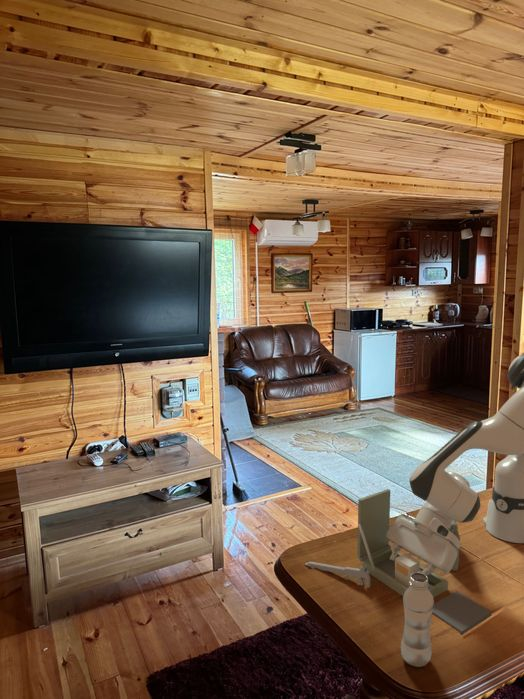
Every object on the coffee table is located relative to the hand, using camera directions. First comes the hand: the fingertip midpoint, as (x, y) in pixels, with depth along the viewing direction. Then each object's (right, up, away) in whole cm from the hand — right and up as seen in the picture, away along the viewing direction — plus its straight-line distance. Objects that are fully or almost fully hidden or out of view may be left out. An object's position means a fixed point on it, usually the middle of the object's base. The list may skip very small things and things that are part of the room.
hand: (405, 569), depth 135 cm
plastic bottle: (-5, -9, -25) cm, 27 cm away
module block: (+1, -4, +1) cm, 5 cm away
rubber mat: (+10, -7, -10) cm, 16 cm away
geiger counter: (+17, -2, +19) cm, 26 cm away
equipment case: (-1, -4, +4) cm, 6 cm away
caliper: (-18, -5, +6) cm, 20 cm away
